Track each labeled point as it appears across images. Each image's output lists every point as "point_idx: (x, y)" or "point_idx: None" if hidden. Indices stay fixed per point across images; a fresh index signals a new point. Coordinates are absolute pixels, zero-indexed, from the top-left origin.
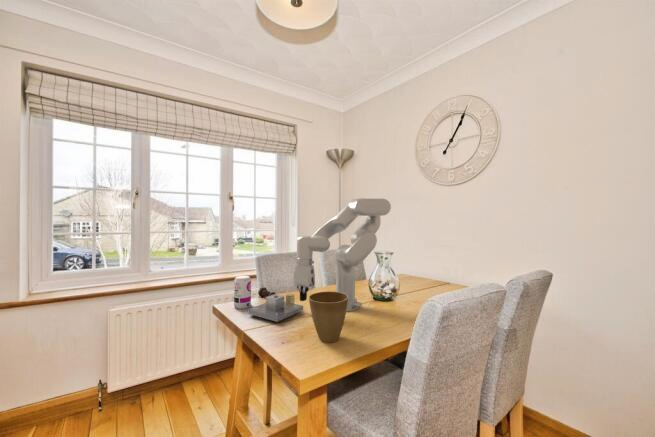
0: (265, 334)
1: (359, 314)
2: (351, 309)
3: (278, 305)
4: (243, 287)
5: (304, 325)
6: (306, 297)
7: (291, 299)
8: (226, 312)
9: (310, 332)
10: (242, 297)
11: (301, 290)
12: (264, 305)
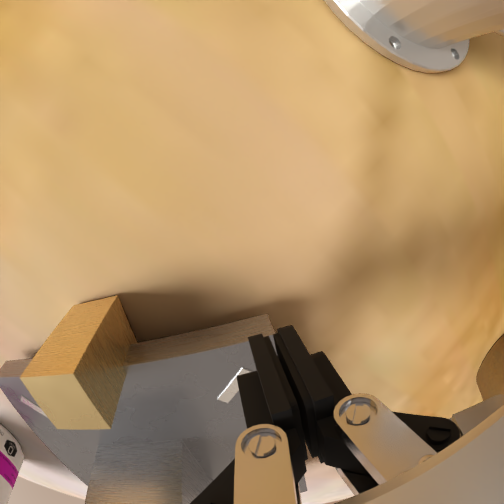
0: (327, 489)
1: (497, 74)
2: (467, 44)
3: (204, 488)
4: None
5: (400, 388)
6: (326, 360)
7: (111, 385)
8: (48, 484)
9: (445, 390)
10: (11, 490)
11: (299, 480)
12: (91, 471)
